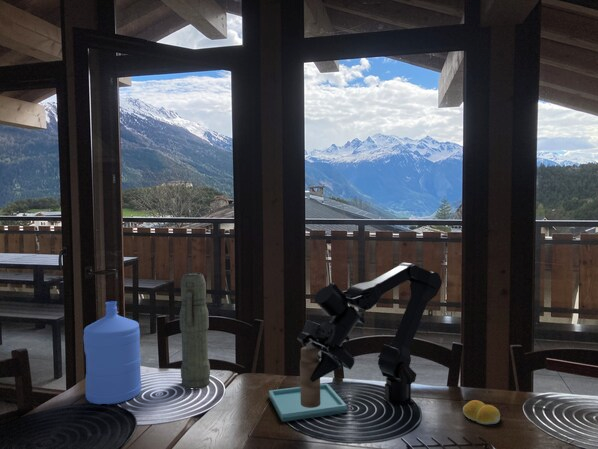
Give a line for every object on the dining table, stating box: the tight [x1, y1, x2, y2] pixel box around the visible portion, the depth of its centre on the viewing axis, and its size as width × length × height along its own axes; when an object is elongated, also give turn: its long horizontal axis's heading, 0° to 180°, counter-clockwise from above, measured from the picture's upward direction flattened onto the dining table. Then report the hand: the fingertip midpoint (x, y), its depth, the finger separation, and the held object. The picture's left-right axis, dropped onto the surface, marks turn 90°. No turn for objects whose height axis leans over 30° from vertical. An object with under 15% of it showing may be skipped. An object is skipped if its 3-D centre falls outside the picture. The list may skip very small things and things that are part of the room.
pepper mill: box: [299, 343, 321, 408], centre depth 119 cm, size 5×5×15 cm
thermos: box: [179, 272, 211, 390], centre depth 149 cm, size 9×12×35 cm
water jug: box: [83, 300, 142, 405], centre depth 141 cm, size 16×16×28 cm
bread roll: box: [462, 399, 501, 425], centre depth 125 cm, size 8×9×4 cm
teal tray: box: [268, 383, 348, 423], centre depth 133 cm, size 18×16×2 cm
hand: (305, 377), depth 118 cm, fingers closed on pepper mill, 5 cm apart
